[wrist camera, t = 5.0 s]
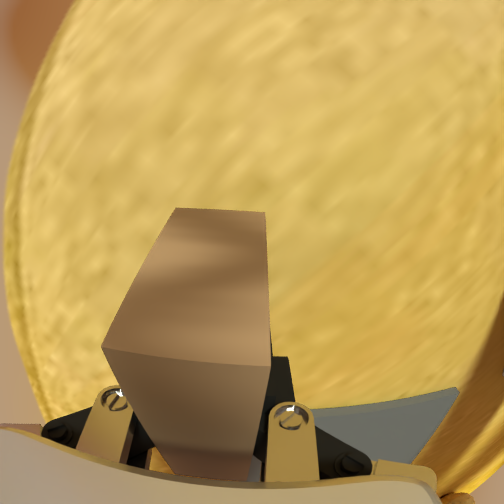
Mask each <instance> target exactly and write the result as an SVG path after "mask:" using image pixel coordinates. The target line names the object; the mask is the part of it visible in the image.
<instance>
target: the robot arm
mask: <svg viewBox="0 0 504 504" xmlns="http://www.w3.org/2000/svg"><path fill="white" fill-rule="evenodd" d="M270 349H271V369H270V374H269V379H268V384H267V389H266V394H265V399H264V404H263V409H262V414H261V419H260V423H259V428H258V433H257V437H256V442H255V446H254V451H253V456H255V457H256V458H257V459H259V460H260V461H261V467H260V480H259V482H240V481H224V480H212V479H202V478H194V477H186V476H179V475H173V474H167V473H162V472H156V471H151V470H149V466H150V460H151V455H152V448H153V447H155V445H154V443H153V442H152V440H151V439H150V437H149V435H148V434H147V432H146V431H145V429H144V427H143V426H142V424H141V423H140V421H139V419H138V418H137V416H136V414H135V412H134V411H133V409H132V407H131V405H130V404H129V402H128V400H127V398H126V396H125V395H124V393H123V391H122V389H121V387H120V385H114V386H109V387H107V388H104V389H103V390H102V391H101V392H100V393H99V394H98V396H97V398H96V400H95V402H94V405H93V406H92V407H90V408H87V409H84V410H81V411H78V412H75V413H72V414H70V415H67V416H64V417H60V418H57V419H54V420H52V421H50V422H48V423H47V424H46V425H45V426H44V427H42V426H41V424H5V423H4V424H0V504H442V502H441V500H440V498H439V497H438V495H437V494H436V487H437V476H436V474H435V472H434V471H433V470H432V469H430V468H429V467H425V466H419V465H412V464H405V463H398V462H392V461H386V460H381V459H378V461H372V460H370V458H369V457H368V456H367V455H366V454H364V453H363V452H361V451H359V450H357V449H356V448H354V447H352V446H350V445H348V444H346V443H344V442H343V441H341V440H339V439H337V438H336V437H334V436H332V435H330V434H329V433H327V432H325V431H323V430H322V429H320V428H318V427H317V426H315V424H314V417H313V414H312V412H311V411H310V409H309V408H307V407H306V406H305V405H303V404H300V403H297V402H295V397H294V390H293V384H292V378H291V372H290V365H289V360H288V357H278V356H273V354H272V343H271V333H270Z"/></svg>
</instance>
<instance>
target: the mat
mask: <svg viewBox="0 0 504 504" xmlns="http://www.w3.org/2000/svg"><path fill="white" fill-rule="evenodd" d="M459 393H460V392H459V391H458V390H457V388H456V387H454V388H450V389H446V390H442V391H438V392H433V393H429V394H424V395H420V396H415V397H410V398H404V399H399V400H393V401H387V402H380V403H373V404H366V405H358V406H349V407H338V408H326V409H310V411H311V412H312V414H313V417H314V424H315V426H317V427H318V428H320V429H322V430H323V431H325V432H327V433H329V434H330V435H332V436H334V437H336V438H337V439H339V440H341V441H343V442H344V443H346V444H348V445H350V446H352V447H354V448H356V449H357V450H359V451H361V452H363V453H364V454H366V455H367V456H368V457H369V458H370V460H372V461H378V459H381V460H386V461H392V462H398V463H405V464H411V463H412V461H413V460H414V459H415V458H416V456H417V455H418V454H419V452H420V451H421V450H422V449H423V447H424V446H425V445H426V443H427V442H428V440H429V439H430V438H431V436H432V435H433V434H434V432H435V431H436V429H437V428H438V426H439V425H440V423H441V422H442V420H443V419H444V417H445V416H446V414H447V413H448V411H449V409H450V408H451V406H452V405H453V403H454V401H455V400H456V398H457V396H458V394H459ZM260 467H261V461H260V460H259V459H257V458H256V457H255V456H253V455H252V460H251V464H250V468H249V473H248V477H247V481H240V482H259V480H260Z"/></svg>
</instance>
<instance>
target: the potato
mask: <svg viewBox="0 0 504 504" xmlns="http://www.w3.org/2000/svg"><path fill="white" fill-rule="evenodd" d="M440 500H441V502H442V504H475V501H474V498H473V497H472V496H470V495H469V494H468V493H462V492H461V493H452V494H448V495H445V496H444V497H442V498H440Z"/></svg>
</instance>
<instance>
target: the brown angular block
mask: <svg viewBox="0 0 504 504" xmlns="http://www.w3.org/2000/svg"><path fill="white" fill-rule="evenodd" d="M101 348H102V350H103V352H104V355H105V357H106V359H107V361H108V363H109V365H110V367H111V369H112V371H113V373H114V375H115V377H116V379H117V381H118V383H119V385H120V387H121V389H122V391H123V393H124V395H125V396H126V398H127V400H128V402H129V404H130V405H131V407H132V409H133V411H134V412H135V414H136V416H137V418H138V419H139V421H140V423H141V424H142V426H143V427H144V429H145V431H146V432H147V434H148V435H149V437H150V439H151V440H152V442H153V443H154V445H155V446H156V448H157V449H158V451H159V452H160V454H161V455H162V456H163V458H164V459H165V461H166V462H167V464H168V465H169V466H170V468H171V469H172V470H173V472H174V473H175V474H178V475H185V476H192V477H200V478H208V479H219V480H232V481H247V477H248V473H249V468H250V464H251V460H252V455H253V451H254V446H255V442H256V437H257V433H258V428H259V423H260V419H261V414H262V409H263V404H264V399H265V394H266V389H267V384H268V379H269V374H270V369H271V349H270V318H269V290H268V264H267V241H266V219H265V212H251V211H234V210H215V209H194V208H175V210H174V211H173V213H172V215H171V216H170V218H169V220H168V221H167V223H166V225H165V226H164V228H163V230H162V231H161V233H160V235H159V236H158V238H157V240H156V242H155V243H154V245H153V247H152V249H151V250H150V252H149V254H148V256H147V257H146V259H145V261H144V263H143V265H142V266H141V268H140V270H139V272H138V274H137V276H136V277H135V279H134V281H133V283H132V285H131V287H130V289H129V291H128V292H127V294H126V296H125V298H124V300H123V302H122V304H121V306H120V308H119V310H118V312H117V314H116V316H115V318H114V320H113V322H112V324H111V326H110V328H109V330H108V333H107V335H106V337H105V339H104V341H103V343H102V345H101Z"/></svg>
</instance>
